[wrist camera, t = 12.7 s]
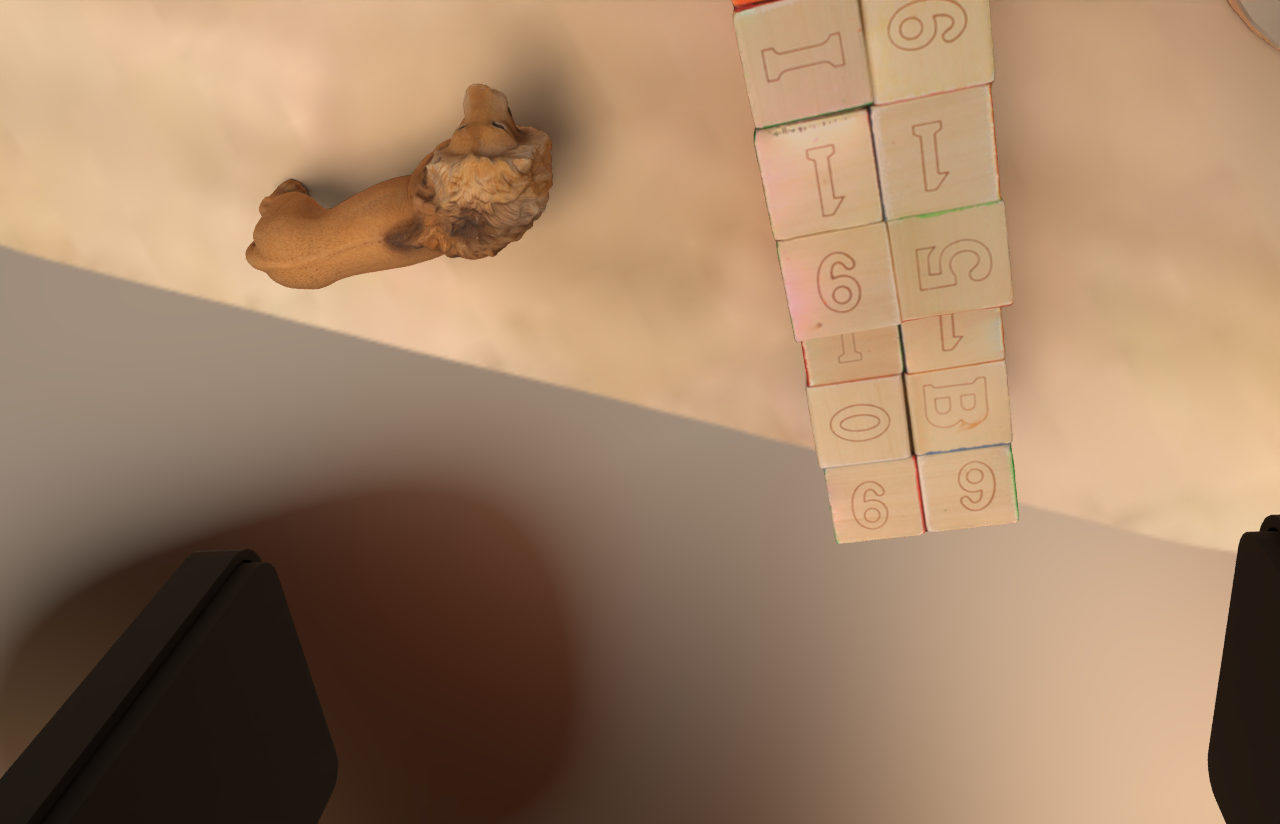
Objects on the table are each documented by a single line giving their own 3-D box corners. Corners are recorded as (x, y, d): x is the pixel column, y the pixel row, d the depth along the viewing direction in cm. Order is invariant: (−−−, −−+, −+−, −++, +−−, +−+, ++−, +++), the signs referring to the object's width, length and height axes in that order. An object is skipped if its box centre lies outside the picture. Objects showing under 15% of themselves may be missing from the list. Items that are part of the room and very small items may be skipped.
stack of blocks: (979, 400, 44) (1038, 582, 34) (823, 421, 46) (832, 602, 35) (924, -186, 35) (982, -196, 24) (732, -140, 37) (706, -129, 26)
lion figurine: (546, 33, 40) (484, 82, 32) (615, 164, 42) (573, 241, 34) (237, 203, 44) (116, 283, 37) (312, 314, 46) (212, 413, 38)
